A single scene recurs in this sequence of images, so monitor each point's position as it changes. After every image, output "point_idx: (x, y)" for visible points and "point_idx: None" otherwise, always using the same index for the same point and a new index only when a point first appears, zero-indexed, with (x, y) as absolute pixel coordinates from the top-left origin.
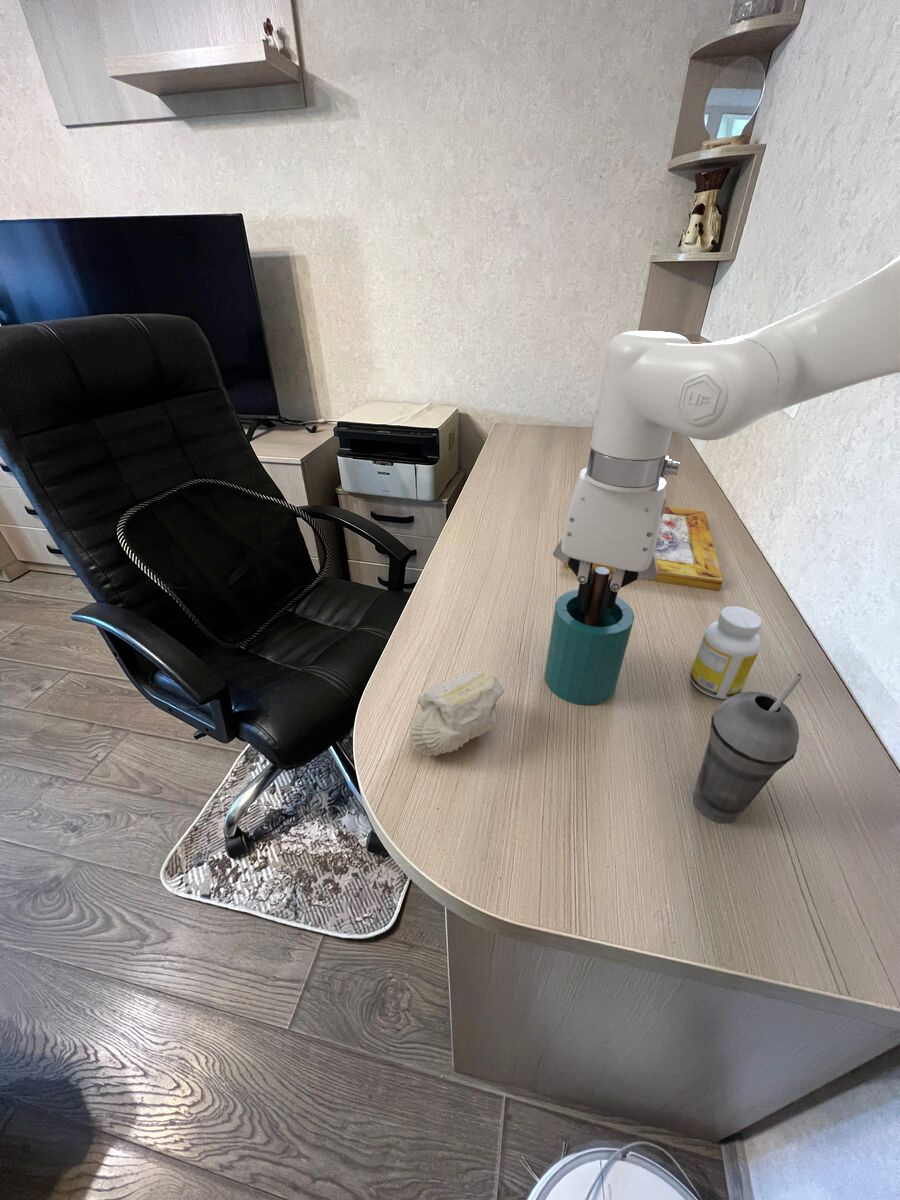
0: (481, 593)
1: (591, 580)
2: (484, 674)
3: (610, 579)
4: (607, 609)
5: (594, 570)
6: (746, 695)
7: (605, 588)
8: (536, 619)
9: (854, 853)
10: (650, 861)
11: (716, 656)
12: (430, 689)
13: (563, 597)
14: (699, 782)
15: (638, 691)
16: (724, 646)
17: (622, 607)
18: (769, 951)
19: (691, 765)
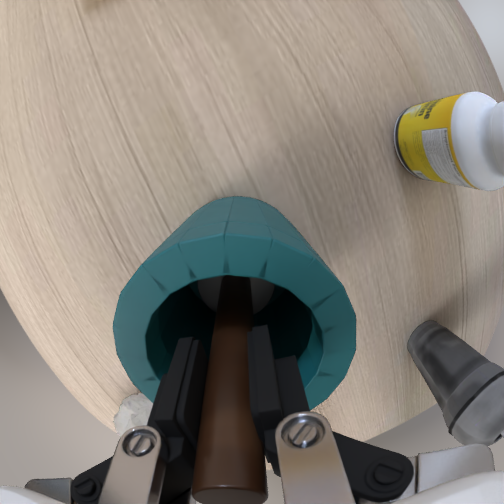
0: (8, 160)
1: (193, 446)
2: None
3: (274, 463)
4: (271, 345)
5: (198, 501)
6: (491, 435)
7: (267, 457)
8: (94, 151)
9: (494, 305)
10: (373, 408)
11: (464, 184)
12: (117, 427)
13: (124, 348)
14: (419, 368)
15: (333, 225)
16: (486, 186)
17: (311, 297)
18: (432, 399)
19: (408, 311)
